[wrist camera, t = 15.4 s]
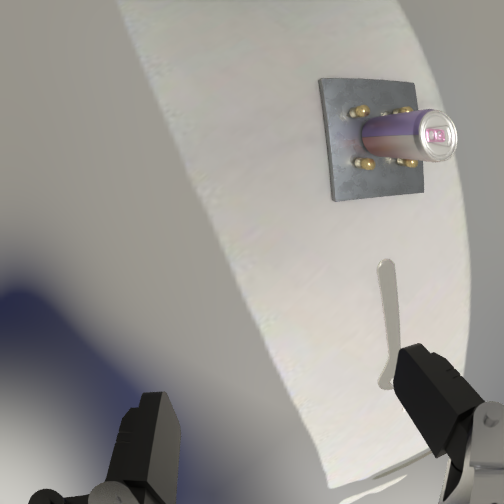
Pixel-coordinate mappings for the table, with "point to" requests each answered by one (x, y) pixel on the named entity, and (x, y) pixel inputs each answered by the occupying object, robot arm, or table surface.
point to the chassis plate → (351, 144)
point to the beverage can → (411, 136)
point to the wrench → (389, 319)
